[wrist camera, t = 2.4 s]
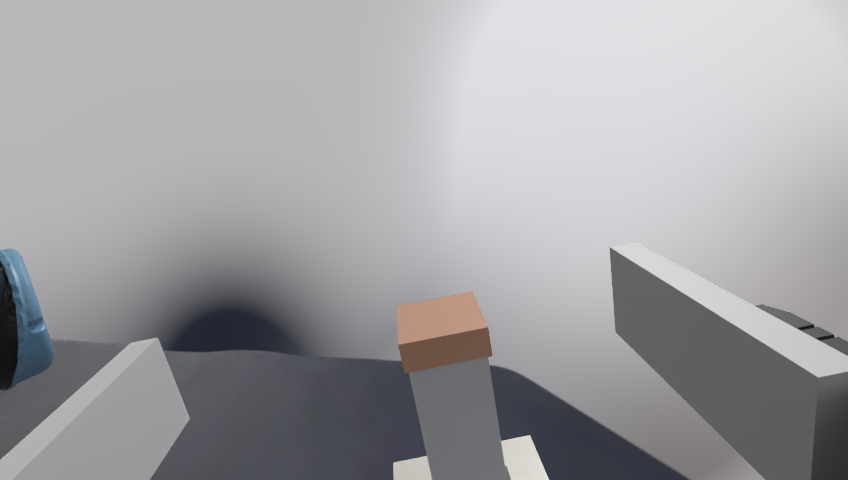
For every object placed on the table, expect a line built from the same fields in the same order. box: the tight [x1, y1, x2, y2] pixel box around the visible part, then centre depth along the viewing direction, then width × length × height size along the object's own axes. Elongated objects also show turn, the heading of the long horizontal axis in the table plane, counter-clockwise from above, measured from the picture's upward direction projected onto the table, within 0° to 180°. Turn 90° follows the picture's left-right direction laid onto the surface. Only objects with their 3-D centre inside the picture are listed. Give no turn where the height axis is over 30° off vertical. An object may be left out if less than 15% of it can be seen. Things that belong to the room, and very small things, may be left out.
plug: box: [397, 292, 507, 480], centre depth 26 cm, size 4×4×16 cm
